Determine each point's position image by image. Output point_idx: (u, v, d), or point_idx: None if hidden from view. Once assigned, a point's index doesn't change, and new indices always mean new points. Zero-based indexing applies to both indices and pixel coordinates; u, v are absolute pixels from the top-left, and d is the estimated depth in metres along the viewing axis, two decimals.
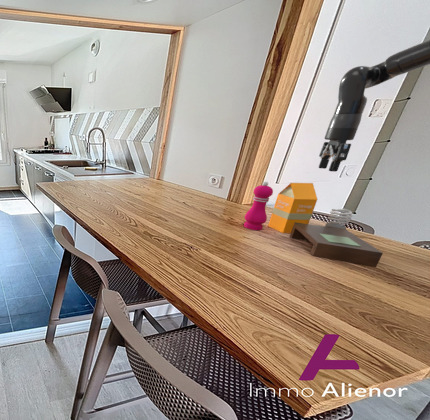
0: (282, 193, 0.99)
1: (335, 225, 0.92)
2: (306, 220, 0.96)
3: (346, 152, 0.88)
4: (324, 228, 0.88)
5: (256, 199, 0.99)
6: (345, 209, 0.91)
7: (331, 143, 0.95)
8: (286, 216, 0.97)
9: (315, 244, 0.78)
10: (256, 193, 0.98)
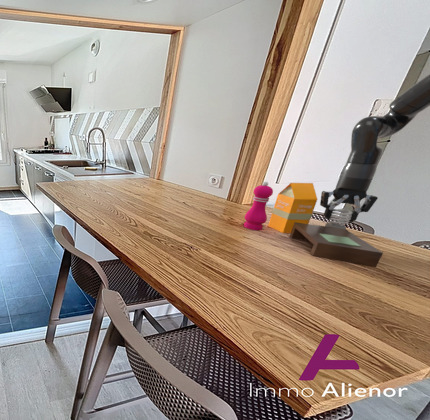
0: (282, 193, 0.99)
1: (335, 225, 0.92)
2: (306, 220, 0.96)
3: (323, 200, 0.92)
4: (324, 228, 0.88)
5: (256, 199, 0.99)
6: (345, 209, 0.91)
7: None
8: (286, 216, 0.97)
9: (315, 244, 0.78)
10: (256, 193, 0.98)
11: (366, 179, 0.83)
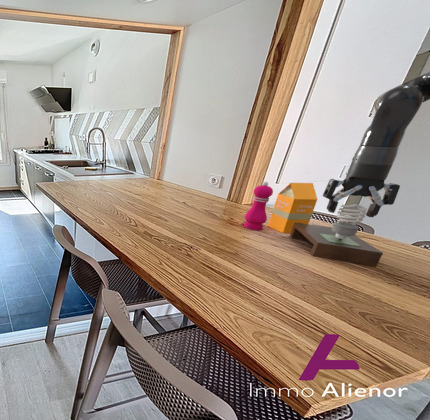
0: (282, 193, 0.99)
1: (345, 224, 0.76)
2: (306, 220, 0.96)
3: (328, 189, 0.76)
4: (324, 228, 0.88)
5: (256, 199, 0.99)
6: (357, 205, 0.75)
7: None
8: (286, 216, 0.97)
9: (315, 244, 0.78)
10: (256, 193, 0.98)
11: (385, 166, 0.67)
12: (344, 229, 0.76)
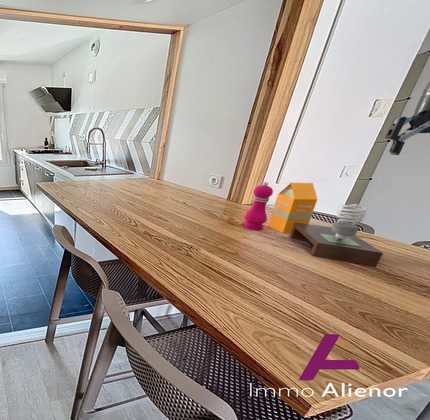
0: (282, 193, 0.99)
1: (345, 224, 0.76)
2: (306, 220, 0.96)
3: (394, 128, 0.69)
4: (324, 228, 0.88)
5: (256, 199, 0.99)
6: (357, 205, 0.75)
7: None
8: (286, 216, 0.97)
9: (315, 244, 0.78)
10: (256, 193, 0.98)
11: None
12: (344, 229, 0.76)
